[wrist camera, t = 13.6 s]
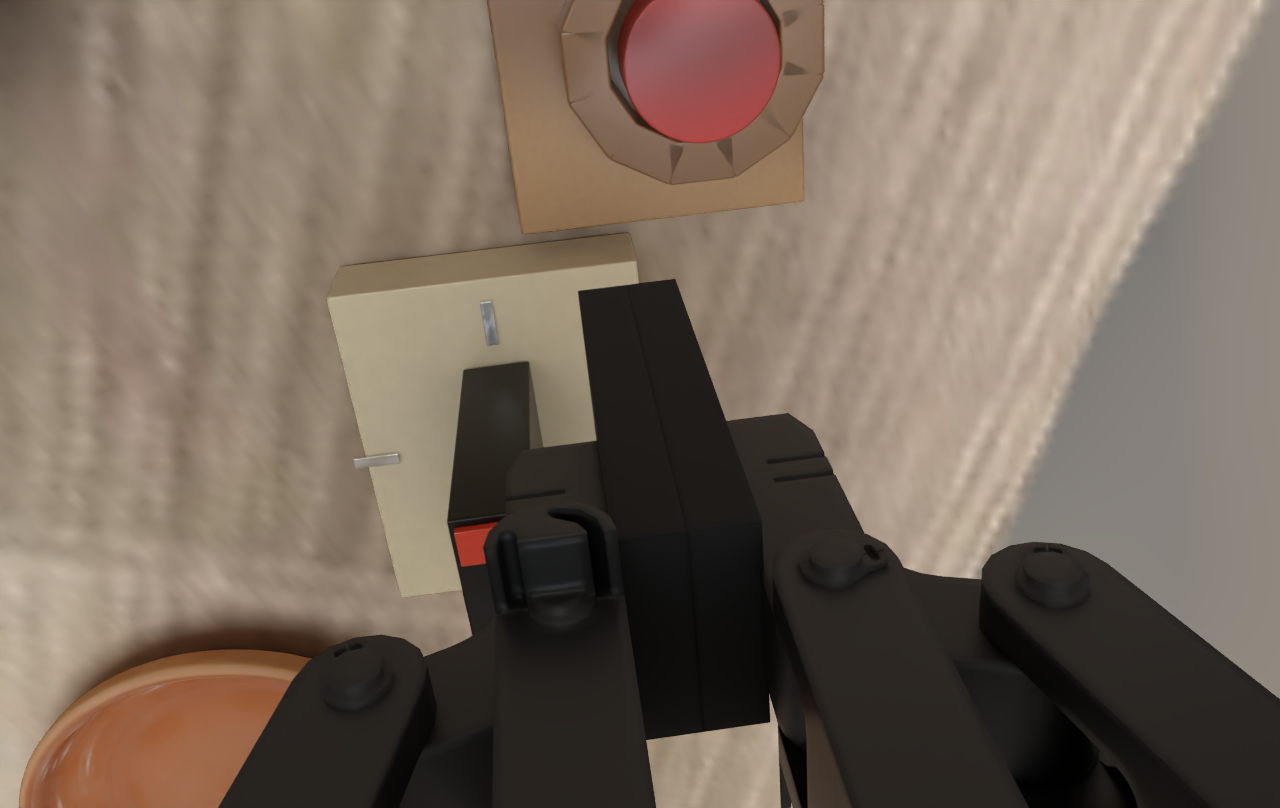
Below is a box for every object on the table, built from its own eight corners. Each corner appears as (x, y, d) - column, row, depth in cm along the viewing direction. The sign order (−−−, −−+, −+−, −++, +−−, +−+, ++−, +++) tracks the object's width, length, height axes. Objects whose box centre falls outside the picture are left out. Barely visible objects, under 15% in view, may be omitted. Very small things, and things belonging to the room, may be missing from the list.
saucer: (-21, 821, 42) (-56, 887, 40) (164, 543, 37) (137, 598, 35) (341, 949, 48) (331, 1014, 45) (546, 723, 43) (548, 782, 40)
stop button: (769, 118, 30) (783, 134, 28) (624, 134, 29) (631, 152, 28) (764, -39, 28) (779, -30, 26) (609, -21, 27) (615, -12, 26)
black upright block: (554, 511, 35) (562, 690, 28) (492, 519, 35) (485, 701, 28) (529, 360, 32) (530, 515, 25) (462, 369, 32) (445, 527, 25)
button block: (802, 189, 33) (826, 221, 31) (521, 222, 33) (522, 257, 30) (796, -177, 28) (823, -177, 26) (467, -143, 28) (461, -139, 26)
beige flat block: (668, 520, 39) (677, 565, 36) (398, 555, 38) (389, 603, 36) (640, 230, 33) (649, 261, 31) (327, 267, 33) (312, 301, 31)
